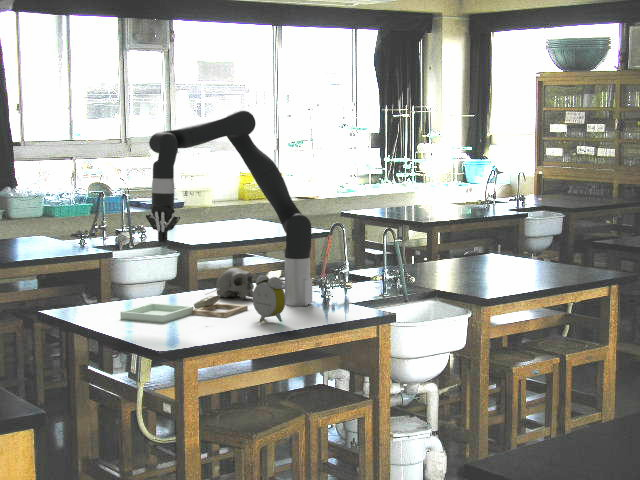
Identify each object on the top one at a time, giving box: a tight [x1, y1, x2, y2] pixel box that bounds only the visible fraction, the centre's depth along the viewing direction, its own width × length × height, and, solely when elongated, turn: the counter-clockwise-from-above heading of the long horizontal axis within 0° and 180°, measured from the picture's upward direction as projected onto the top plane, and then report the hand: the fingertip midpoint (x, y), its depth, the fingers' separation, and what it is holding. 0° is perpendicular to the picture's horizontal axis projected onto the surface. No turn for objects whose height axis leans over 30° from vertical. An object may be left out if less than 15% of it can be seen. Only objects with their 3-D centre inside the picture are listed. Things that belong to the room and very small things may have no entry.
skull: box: [215, 267, 255, 300], centre depth 393 cm, size 12×18×12 cm, turn 46°
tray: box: [119, 302, 194, 324], centre depth 355 cm, size 17×19×2 cm
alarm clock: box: [252, 274, 286, 323], centre depth 346 cm, size 12×7×15 cm, turn 44°
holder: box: [191, 302, 249, 318], centre depth 363 cm, size 13×16×2 cm
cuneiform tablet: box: [193, 288, 221, 309], centre depth 368 cm, size 7×4×12 cm
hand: (162, 242), depth 354 cm, fingers closed
